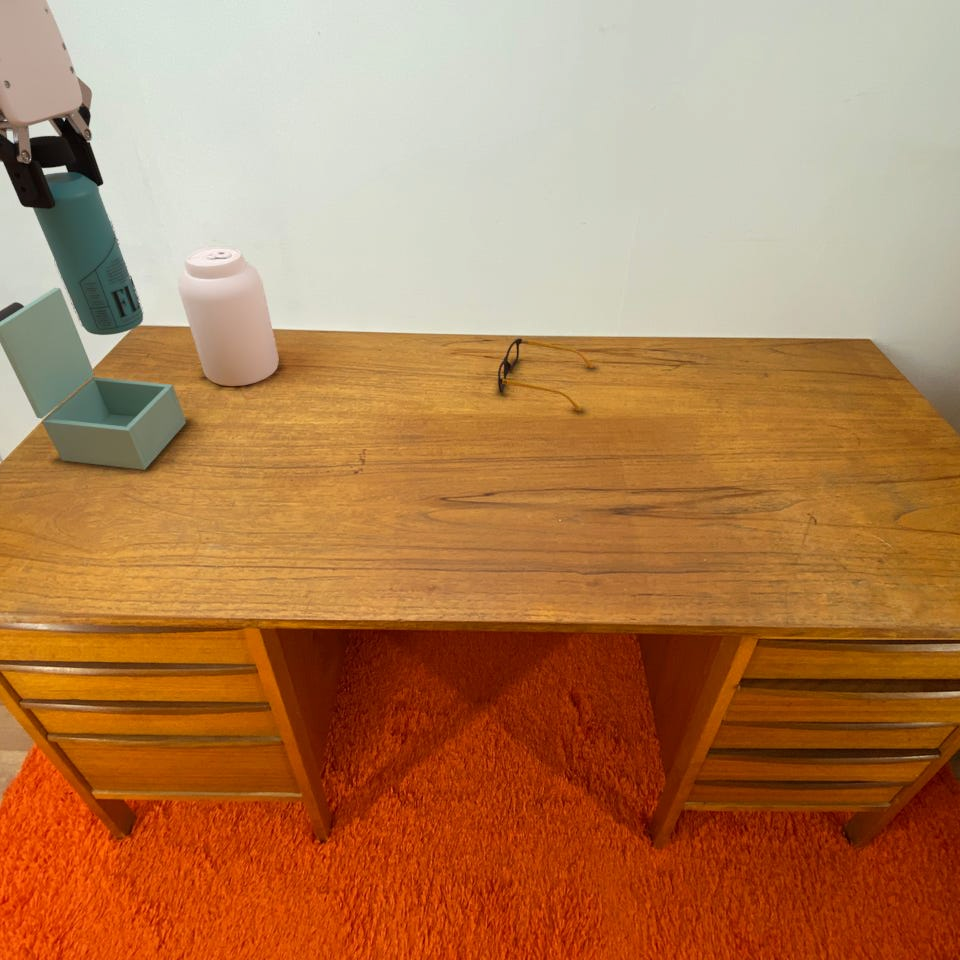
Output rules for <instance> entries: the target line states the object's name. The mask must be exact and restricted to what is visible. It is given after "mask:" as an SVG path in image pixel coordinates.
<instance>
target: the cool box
mask: <svg viewBox="0 0 960 960" xmlns="http://www.w3.org/2000/svg"><path fill="white" fill-rule="evenodd" d="M41 424H42V425H43V428H44V429H45V431H46V433H47V435H48V437H49V439H50V440H51V442H52V444H53V447H54V448H55V450H56V451H57V454H58V455H59V458H60V460H61V461H63V462H72V463H81V464H89V465H90V464H91V465H97V466H107V467H115V468H125V469H134V470H140V471H141V470H143V471H145V470H147V468H148V467H149V466H150V465H151V464H152V463H153V462H154V460H155V459H156V458H157V457H158V455H160V453H161V452H162V451H163V450H164V449H165V447H166V446H167V445H168V444H169V443H170V442H171V440H173V438H174V437H175V436H176V435H177V434H178V433H179V432H180V431H181V429H182V428H183V427H184V426H185V425H186V424H187V421H186V418H185V415H184V412H183V410H182V406H181V403H180V401H179V398H178V395H177V392H176V389H175V386H174V384H169V383H160V382H159V383H158V382H151V381H150V382H149V381H148V382H147V381H139V380H128V379H118V378H107V377H100V376H98V377H97V376H92V377H91V378H90V379H89V380H87V381H86V382H85V383H84V384H83V385H82V386H80V387H79V388H78V389H77V390H76V391H74V392H73V393H72V394H71V395H70V396H68V397H67V398H66V399H65V400H64V401H63V402H61V403H60V404H59V405H58V406H57V407H55V408H54V409H53V410H52V411H51V412H50V413H48V414H47V415H46V416H45V417H44V418H43V419H42V420H41Z"/></svg>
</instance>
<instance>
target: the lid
mask: <svg viewBox="0 0 960 960" xmlns="http://www.w3.org/2000/svg"><path fill="white" fill-rule="evenodd" d="M62 291H63V290H62V289H61V288H60V287H54V288H52V289H51V290H49V291H47V292H45V293H44V294H42V295H41V296H39V297H37V298H36V299H34V300H32V301H31V302H30V303H28V304H27V305H23V304H22V303H20V302H17V301H15V302H12V303H11V304H9V305H8V306H6V307H4V308H3V309H0V345H1V347H2V350H3V351H4V353H5V356H6V358H7V360H8V361H9V363H10V366H11V368H12V370H13V372H14V375H15V376H16V378H17V380H18V382H19V384H20V386H21V388H22V391H23V392H24V394H25V396H26V398H27V400H28V402H29V405H30V407H31V409H32V410H33V412H34V414H35V416H36V418H37V419H45V418H46V417H47V416H48V415H49V414H50V413H52V412H53V411H54V410H55V409H56V408H58V407H59V406H60V405H61V404H62V403H63V402H65V401H66V400H67V399H68V398H69V397H71V396H72V395H73V394H74V393H75V392H76V391H78V390H79V389H80V388H81V387H82V386H84V385H85V384H86V383H87V382H88V381H89V380H91V379H92V378H93V377H94V376H95V372H94V369H93V366H92V365H91V362H90V360H89V359H90V358H89V357H88V354H87V351H86V349H85V347H84V344H83V342H82V339H81V336H80V334H79V332H78V329H77V326H76V323H75V322H74V319H73V317H72V314H71V312H70V309H69V306H68V304H67V301H66V299H65V296H64V294H63V292H62Z"/></svg>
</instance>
